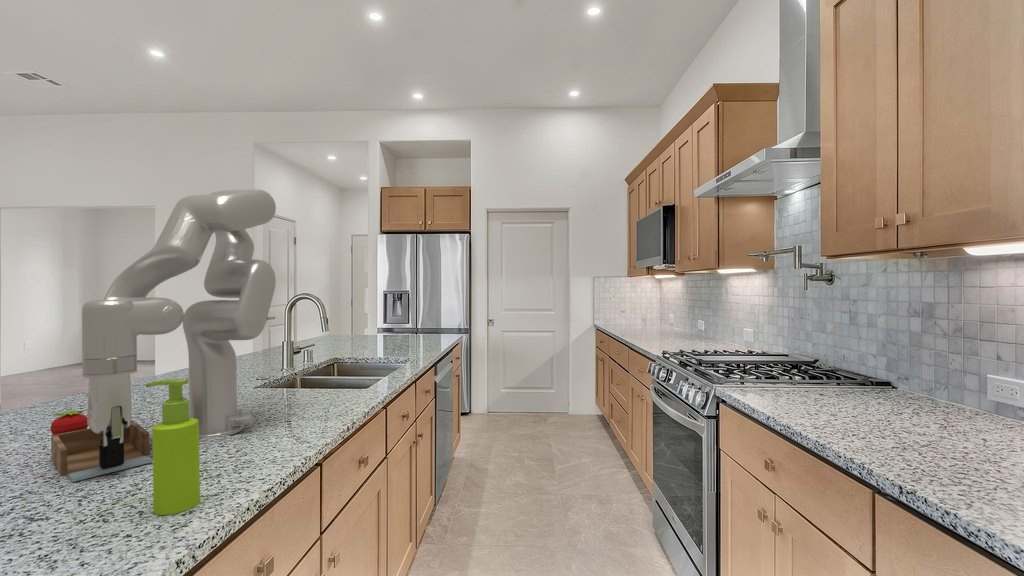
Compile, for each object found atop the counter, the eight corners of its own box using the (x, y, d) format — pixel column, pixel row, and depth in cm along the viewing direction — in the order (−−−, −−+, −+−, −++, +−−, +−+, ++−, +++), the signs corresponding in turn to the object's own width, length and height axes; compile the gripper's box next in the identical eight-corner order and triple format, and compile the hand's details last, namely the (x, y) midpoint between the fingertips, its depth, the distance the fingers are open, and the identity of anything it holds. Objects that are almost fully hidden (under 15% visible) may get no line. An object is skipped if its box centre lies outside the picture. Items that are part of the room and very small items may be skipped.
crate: (51, 462, 89) (51, 435, 89) (132, 445, 99) (132, 420, 99) (61, 481, 80) (61, 450, 80) (149, 459, 90) (149, 432, 90)
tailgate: (66, 473, 81) (71, 478, 78) (145, 455, 90) (152, 458, 86) (67, 477, 81) (71, 482, 78) (145, 458, 90) (152, 462, 86)
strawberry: (47, 458, 92) (46, 409, 92) (54, 448, 98) (53, 402, 98) (86, 451, 95) (86, 404, 95) (91, 442, 101) (90, 398, 101)
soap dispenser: (163, 498, 73) (161, 376, 73) (207, 496, 74) (206, 375, 74) (136, 517, 67) (134, 384, 67) (185, 514, 68) (182, 383, 68)
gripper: (76, 365, 84) (77, 462, 84) (89, 374, 75) (91, 483, 75) (127, 359, 90) (129, 450, 90) (146, 367, 81) (147, 469, 81)
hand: (111, 465), depth 83 cm, fingers closed
